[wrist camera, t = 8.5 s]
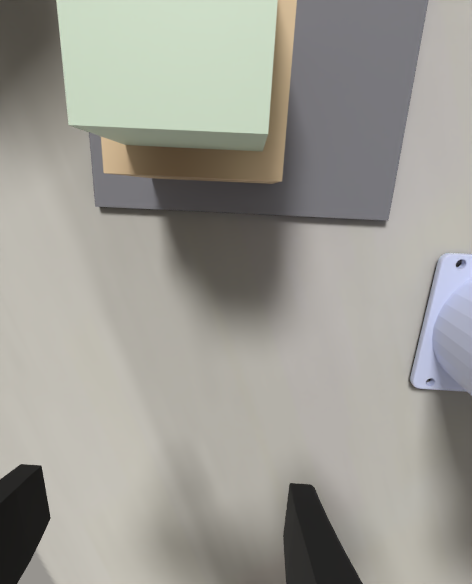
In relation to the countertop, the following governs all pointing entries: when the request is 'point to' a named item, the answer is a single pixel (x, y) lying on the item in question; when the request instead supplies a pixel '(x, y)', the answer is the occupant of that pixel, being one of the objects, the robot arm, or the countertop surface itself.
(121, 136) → the sage block
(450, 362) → the robot arm
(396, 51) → the mat
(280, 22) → the oak slab upper
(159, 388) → the countertop surface
